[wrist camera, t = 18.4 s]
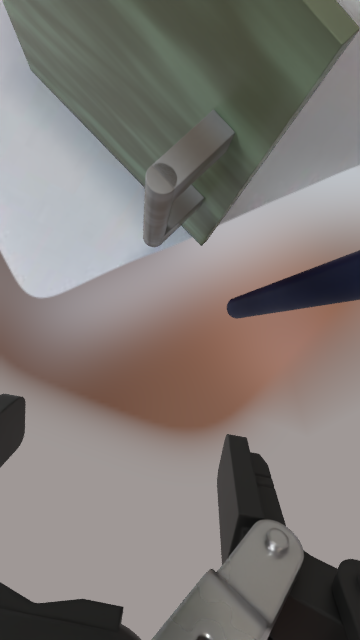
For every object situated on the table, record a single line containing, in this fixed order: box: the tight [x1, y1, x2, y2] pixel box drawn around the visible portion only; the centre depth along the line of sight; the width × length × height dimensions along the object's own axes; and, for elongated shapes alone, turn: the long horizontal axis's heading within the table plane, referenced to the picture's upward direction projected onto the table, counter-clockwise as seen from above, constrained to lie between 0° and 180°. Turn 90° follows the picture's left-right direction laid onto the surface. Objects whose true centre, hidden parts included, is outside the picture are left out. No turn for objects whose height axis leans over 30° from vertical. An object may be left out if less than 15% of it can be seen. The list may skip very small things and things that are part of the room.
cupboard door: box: [3, 0, 360, 247], centre depth 21 cm, size 7×26×24 cm, turn 45°
